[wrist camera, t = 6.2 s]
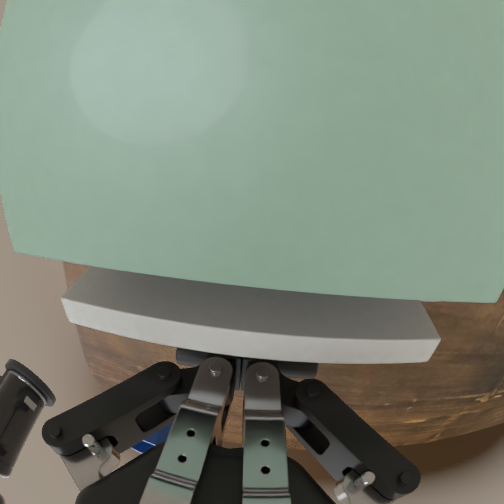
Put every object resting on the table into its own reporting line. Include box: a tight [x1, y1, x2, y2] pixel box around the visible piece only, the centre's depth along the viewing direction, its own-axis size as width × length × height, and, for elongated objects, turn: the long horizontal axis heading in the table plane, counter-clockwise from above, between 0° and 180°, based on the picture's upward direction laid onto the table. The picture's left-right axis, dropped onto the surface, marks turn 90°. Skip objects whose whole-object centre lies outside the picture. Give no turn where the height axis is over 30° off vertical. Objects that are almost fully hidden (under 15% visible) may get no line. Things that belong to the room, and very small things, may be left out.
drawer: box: [61, 262, 441, 379], centre depth 10 cm, size 20×14×9 cm
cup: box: [131, 421, 174, 453], centre depth 26 cm, size 6×6×6 cm
